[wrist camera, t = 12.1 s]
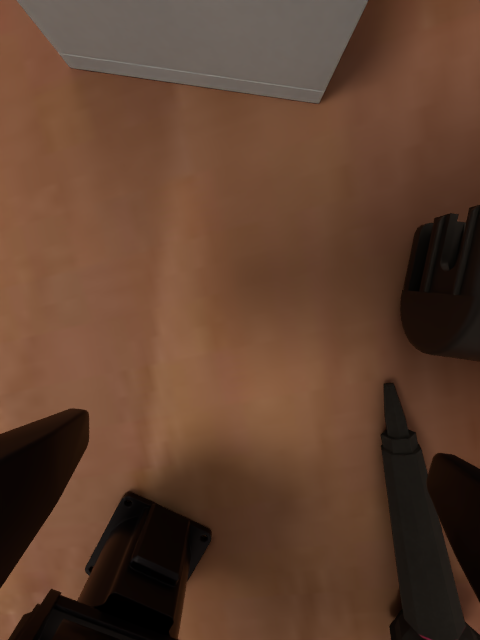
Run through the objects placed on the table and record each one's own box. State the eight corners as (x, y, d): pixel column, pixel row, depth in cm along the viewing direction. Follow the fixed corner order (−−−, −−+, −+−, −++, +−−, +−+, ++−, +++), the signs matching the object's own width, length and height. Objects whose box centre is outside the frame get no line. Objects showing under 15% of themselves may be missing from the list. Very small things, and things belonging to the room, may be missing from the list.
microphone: (343, 378, 23) (393, 642, 23) (342, 403, 18) (407, 747, 18) (426, 368, 21) (480, 654, 22) (454, 393, 16) (525, 775, 16)
